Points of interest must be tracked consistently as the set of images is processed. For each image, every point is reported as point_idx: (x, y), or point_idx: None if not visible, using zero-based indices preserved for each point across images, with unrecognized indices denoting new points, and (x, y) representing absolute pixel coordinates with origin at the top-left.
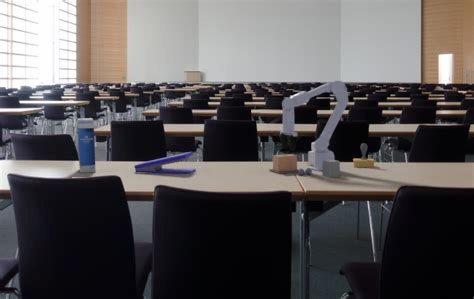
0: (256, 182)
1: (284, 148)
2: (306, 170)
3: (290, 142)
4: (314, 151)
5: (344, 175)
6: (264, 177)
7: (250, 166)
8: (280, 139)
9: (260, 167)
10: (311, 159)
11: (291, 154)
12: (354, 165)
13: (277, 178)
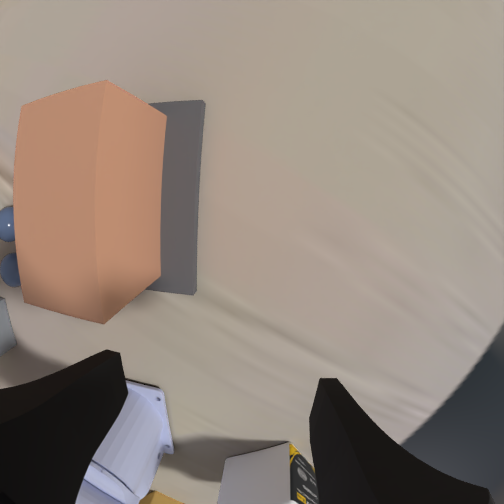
0: (24, 5)
1: (317, 395)
2: (6, 255)
3: (14, 390)
4: (103, 466)
5: (7, 360)
6: (58, 31)
7: (453, 109)
8: (414, 467)
9: (393, 134)
10: (269, 471)
11: (86, 310)
12: (151, 495)
13: (17, 82)
